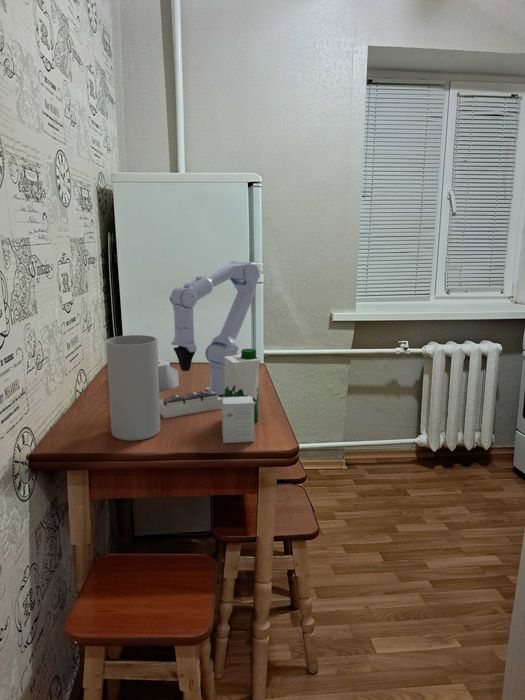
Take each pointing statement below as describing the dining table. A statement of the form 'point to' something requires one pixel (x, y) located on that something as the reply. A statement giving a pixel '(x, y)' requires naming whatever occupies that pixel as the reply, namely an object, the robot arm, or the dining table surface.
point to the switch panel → (189, 406)
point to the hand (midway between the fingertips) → (185, 370)
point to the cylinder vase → (133, 386)
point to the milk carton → (242, 376)
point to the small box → (237, 419)
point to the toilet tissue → (167, 375)
